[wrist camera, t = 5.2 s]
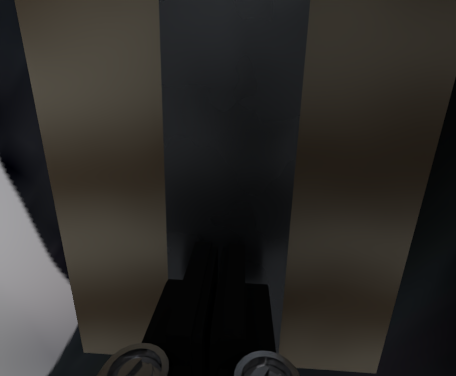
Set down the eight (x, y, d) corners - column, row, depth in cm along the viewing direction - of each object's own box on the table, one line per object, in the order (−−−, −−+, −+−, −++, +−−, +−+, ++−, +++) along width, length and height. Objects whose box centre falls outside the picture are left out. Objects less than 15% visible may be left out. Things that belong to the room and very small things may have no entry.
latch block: (88, -97, 13) (-150, -364, 5) (409, -99, 12) (690, -414, 5) (129, 276, 20) (53, 402, 12) (338, 288, 19) (401, 430, 11)
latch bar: (164, -134, 8) (153, -167, 7) (315, -136, 8) (325, -171, 7) (177, 351, 12) (171, 372, 11) (273, 357, 12) (276, 380, 11)
